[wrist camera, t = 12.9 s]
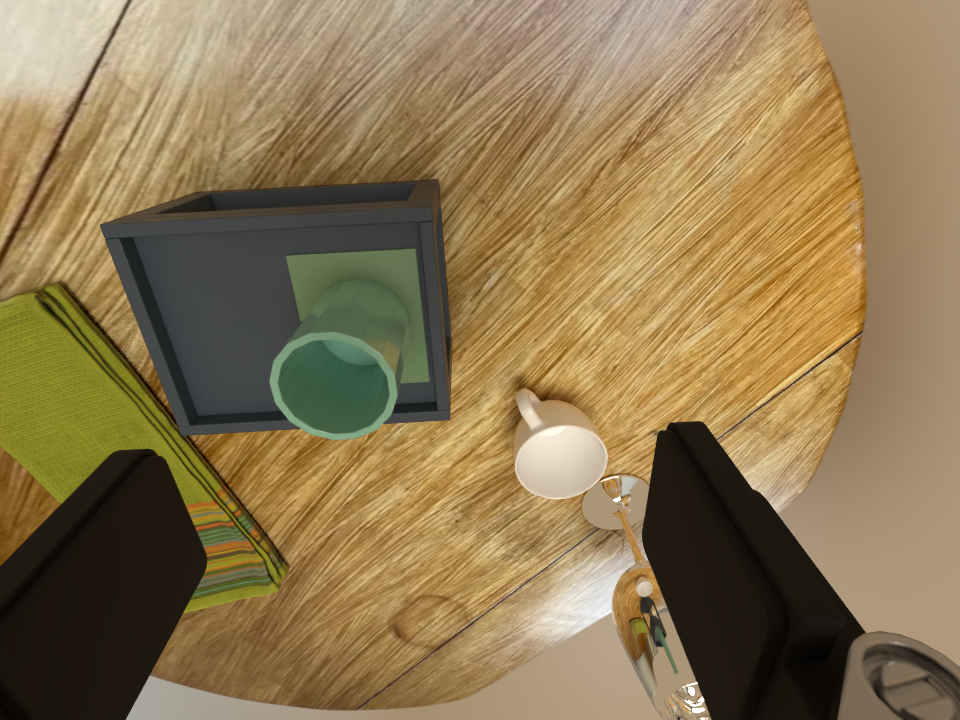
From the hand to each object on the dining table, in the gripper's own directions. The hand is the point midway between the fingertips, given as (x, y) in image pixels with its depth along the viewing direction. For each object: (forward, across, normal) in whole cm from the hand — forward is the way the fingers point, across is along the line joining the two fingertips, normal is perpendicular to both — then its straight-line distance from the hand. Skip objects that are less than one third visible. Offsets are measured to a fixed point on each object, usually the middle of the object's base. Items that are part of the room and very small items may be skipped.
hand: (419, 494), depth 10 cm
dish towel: (+31, +33, +24) cm, 51 cm away
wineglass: (+32, -15, +32) cm, 47 cm away
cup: (+32, -7, +20) cm, 38 cm away
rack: (+32, +10, +6) cm, 34 cm away
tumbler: (+21, +6, +6) cm, 23 cm away
